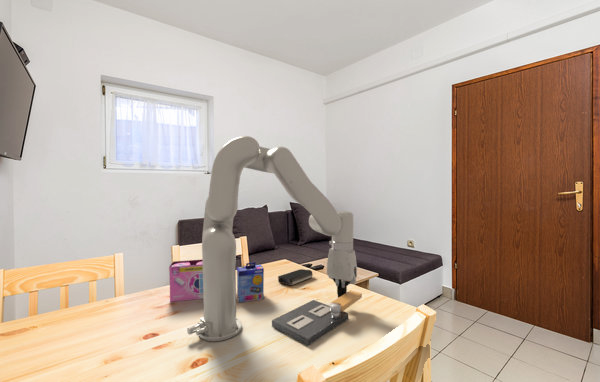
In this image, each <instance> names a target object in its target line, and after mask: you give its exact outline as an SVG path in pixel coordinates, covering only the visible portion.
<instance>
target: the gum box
mask: <svg viewBox="0 0 600 382" xmlns="http://www.w3.org/2000/svg"><path fill="white" fill-rule="evenodd" d="M168 270H169V271H168V272H169V274H168V275H169V302H170V303H171V302H173V303H174V302H183V301H191V300H201V299H203V260H202V259H193V260H191V259H190V260H189V259H188V260H175V261H172V263H171V264H169V267H168Z"/></svg>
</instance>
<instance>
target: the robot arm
mask: <svg viewBox="0 0 600 382" xmlns="http://www.w3.org/2000/svg"><path fill="white" fill-rule="evenodd" d="M211 168H212V169H211V175H210V183H209V187H208V188H209V189H208V197H206V198H207V199H206V201H205V205H204V206H205V207H204V215H203V227H202V235H201V236H202V237H201V240H202V241H201V257H202V259H201V260H203V316H202V317H200V321H199V322H197V324H195V325H192V326H189V327H187V330H186V331H187V334H188V335H189V336H191V335H193V334H196V336H199V337H200V339H202V340H204V341H208V342H219V341H221V342H222V341H225V340H228V339H231V338H233V337H235V336H236V335H238V334H239V333H240V332H241V330H242V321H241V320H240V319H239V318H237V285H236V283H237V270H236V263H237V261H236V260H237V259H236V257H237V239H236V238H235V235H234V233H233V228H234V227H233V226H234V225H233V224H234V218H235V216H236V214H237V212H238V207H239V206H238V203H239V202H238V201H239V189H240V187H239V186H240V180H241V175H242V171H243V169H244V168H246V169H249V170H253V171H257V172H258V171H259V172H263V173H267V174H273V175H275V176H276V178H277V180H278V181H279V183H280V184H281V185H282V186H283V188H284V191H286V192H287V194H288V196H289V197H290V198H291V199H292V200H294V201H295V202H297V203H298V204H299V205H301V206H302V207H303V208H304V209H306V211H307V212H308V213H309V214H310V215H309V217H308V225H309V227H310V228H311V229H312V230H314V231H315V232H316V233H320V234H323V235H325V236H328V237H331V240H329V242H328V244H329V245H330V246H331V248H329V250H328V255H327V259H326V260H327V262H326V274H327V277H328V278H329V279H331V280H333V282H334V283H335V286H336V288H337V289H336V291H337V292H336V294H337V298H339V297H340V296H342V295H344V294H345V293H347V292H348V291H347V289H348V286H349V285H355V284H357V275H358V265H357V256H356V251H355V249H354V214H353V213H352V211H348V210H336V209H335V207H334V206H333V204H332V203H331V202H330V200H329V199H328V198H327V197H326V195H325V194H323V192H321V191H320V189H318V187H317V186H316V185H315V184H314V183H313V182H312V181H311V179H310V178H309V177H308V175H307V174H306V172H305V171H304V170H303V167H302V166H301V164H300V163H299V162H298V160H297V159H296V157H295V156H294V154H293V153H292V152H291V150H290V149H288V148H287V147H285V146H277V147H274V148H269V147H268V148H267V147H263V146H260V143H259V142H258V140H256V139H255V137H252V136H249V135H241V136H239V137H235V138H233V139H231V140H229V141H228V142H227V143H225V144H224V145H223V146H222V147H221V148H220V149H219V151H218V152H217V154H216V155H215V157H214V160H213V163H212V167H211Z"/></svg>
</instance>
